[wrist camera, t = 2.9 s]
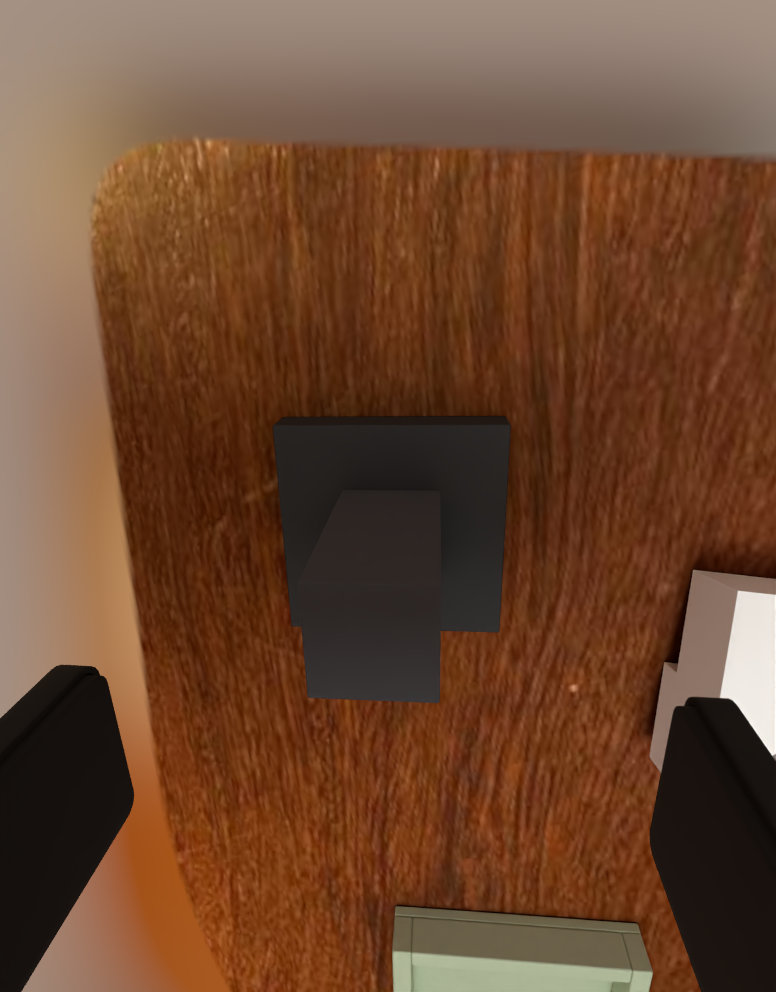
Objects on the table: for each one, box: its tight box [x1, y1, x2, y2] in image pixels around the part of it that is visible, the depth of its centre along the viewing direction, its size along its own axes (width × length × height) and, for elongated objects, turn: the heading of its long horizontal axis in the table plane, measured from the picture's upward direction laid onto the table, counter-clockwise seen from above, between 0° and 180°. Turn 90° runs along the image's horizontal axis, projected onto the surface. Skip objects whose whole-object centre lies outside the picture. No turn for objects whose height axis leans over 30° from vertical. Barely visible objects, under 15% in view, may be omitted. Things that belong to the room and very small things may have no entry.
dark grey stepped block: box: [273, 416, 511, 703], centre depth 15 cm, size 7×7×7 cm
